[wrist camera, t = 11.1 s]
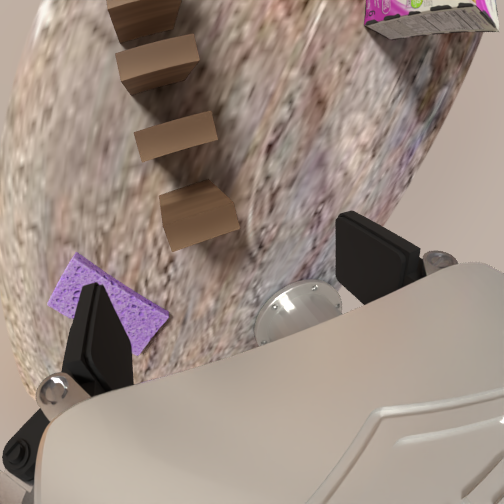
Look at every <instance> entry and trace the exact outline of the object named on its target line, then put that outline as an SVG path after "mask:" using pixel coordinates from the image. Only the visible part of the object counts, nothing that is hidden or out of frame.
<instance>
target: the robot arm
mask: <svg viewBox="0 0 504 504" xmlns="http://www.w3.org/2000/svg"><path fill="white" fill-rule="evenodd" d="M419 255H420V248H419V247H417V246H415V245H414V244H412V243H410V242H408V241H407V240H405V239H403V238H402V237H400V236H398V235H397V234H395V233H393V232H391V231H389V230H387V229H386V228H384V227H382V226H380V225H379V224H377V223H375V222H373V221H371V220H369V219H368V218H366V217H364V216H362V215H360V214H358V213H356V212H354V211H348V212H344V213H341V214H339V216H338V218H337V219H336V278H337V280H338V281H339V282H340V283H341V284H342V285H343V286H344V287H345V288H346V289H347V290H348V291H350V292H351V293H352V294H353V295H354V296H355V297H356V298H357V299H358V300H360V302H362V303H363V304H364V306H361V307H359V308H357V309H354V310H352V311H350V312H347V313H345V314H342V313H341V312H342V302H341V298H340V295H339V294H338V292H337V291H336V290H335V289H334V288H333V287H332V286H331V285H330V284H328V283H327V282H324V281H321V280H317V279H307V280H301V281H298V282H294V283H292V284H290V285H288V286H286V287H284V288H282V289H281V290H279V291H278V292H276V293H275V294H274V295H273V296H272V297H271V298H270V299H269V300H268V301H267V302H266V303H265V305H264V306H263V307H262V309H261V311H260V312H259V314H258V316H257V319H256V321H255V327H254V336H255V339H256V342H257V344H258V346H259V347H257V348H254V349H251V350H248V351H245V352H242V353H240V354H237V355H234V356H231V357H228V358H224V359H221V360H218V361H215V362H212V363H209V364H206V365H202V366H199V367H196V368H192V369H189V370H186V371H182V372H179V373H175V374H171V375H168V376H164V377H160V378H157V379H153V380H149V381H145V382H142V383H138V384H135V385H134V383H133V366H132V346H131V342H130V339H129V337H128V335H127V333H126V331H125V329H124V327H123V325H122V323H121V321H120V319H119V317H118V315H117V313H116V311H115V309H114V307H113V304H112V302H111V300H110V298H109V296H108V293H107V291H106V289H105V287H104V285H103V284H101V285H99V284H98V283H97V282H94V283H91V284H88V285H84V286H83V287H82V290H81V293H80V297H79V300H78V304H77V308H76V312H75V315H74V319H73V324H72V326H71V328H70V332H69V336H68V341H67V346H66V350H65V355H64V360H63V366H62V371H61V372H59V373H54V374H52V375H49V376H48V377H46V378H45V379H44V380H43V381H42V382H41V383H40V385H39V387H38V388H37V392H36V401H37V404H38V405H39V407H40V409H39V410H38V411H37V412H36V413H35V414H34V415H33V416H32V417H31V418H30V419H29V420H28V421H27V422H26V423H25V424H24V425H23V426H22V428H21V429H20V430H19V431H18V432H17V433H16V434H15V435H14V436H13V437H12V438H11V439H10V440H9V441H8V443H7V444H6V446H5V448H4V450H3V456H2V458H3V464H4V466H5V468H6V469H5V471H4V472H2V471H1V470H0V504H504V273H502V272H501V271H499V270H497V269H495V268H493V267H492V266H490V265H487V264H485V263H480V262H468V263H460V264H458V262H457V260H456V259H455V258H454V257H453V256H452V255H450V254H448V253H446V252H443V251H429V252H427V253H425V254H424V256H423V259H421V258H420V257H419Z"/></svg>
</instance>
